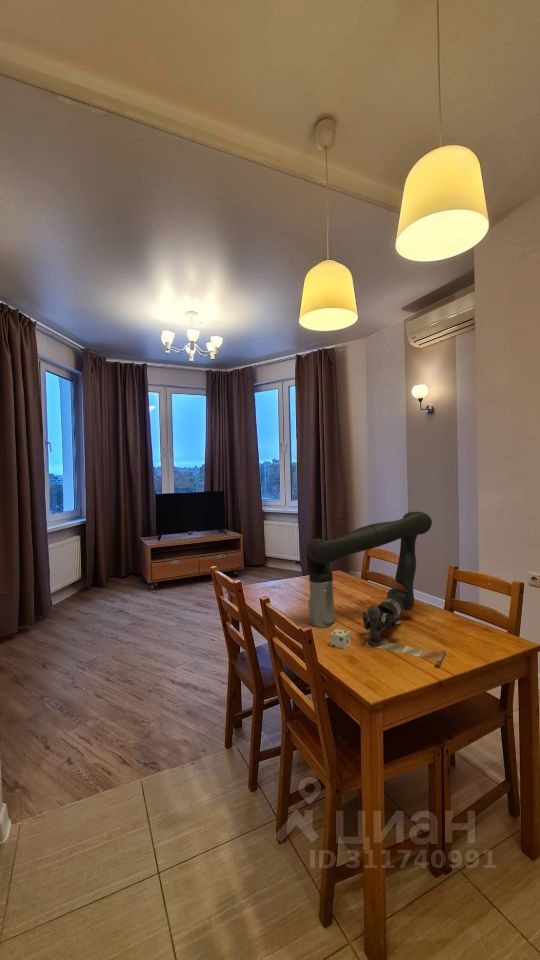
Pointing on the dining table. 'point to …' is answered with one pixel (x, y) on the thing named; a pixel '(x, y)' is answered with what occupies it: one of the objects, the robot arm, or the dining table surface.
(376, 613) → the pawn
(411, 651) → the board
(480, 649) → the dining table surface
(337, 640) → the die
